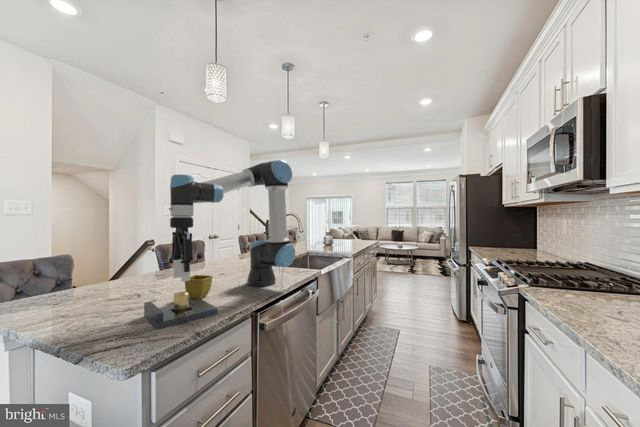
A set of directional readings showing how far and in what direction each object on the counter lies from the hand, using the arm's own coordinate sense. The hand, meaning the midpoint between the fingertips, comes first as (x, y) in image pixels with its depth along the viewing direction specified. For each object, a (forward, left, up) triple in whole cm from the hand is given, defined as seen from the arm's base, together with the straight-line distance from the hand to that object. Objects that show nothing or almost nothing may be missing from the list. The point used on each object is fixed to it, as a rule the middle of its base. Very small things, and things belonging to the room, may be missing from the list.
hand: (181, 278), depth 97 cm
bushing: (0, 0, -13) cm, 13 cm away
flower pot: (-13, -18, -13) cm, 26 cm away
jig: (0, 0, -13) cm, 13 cm away
